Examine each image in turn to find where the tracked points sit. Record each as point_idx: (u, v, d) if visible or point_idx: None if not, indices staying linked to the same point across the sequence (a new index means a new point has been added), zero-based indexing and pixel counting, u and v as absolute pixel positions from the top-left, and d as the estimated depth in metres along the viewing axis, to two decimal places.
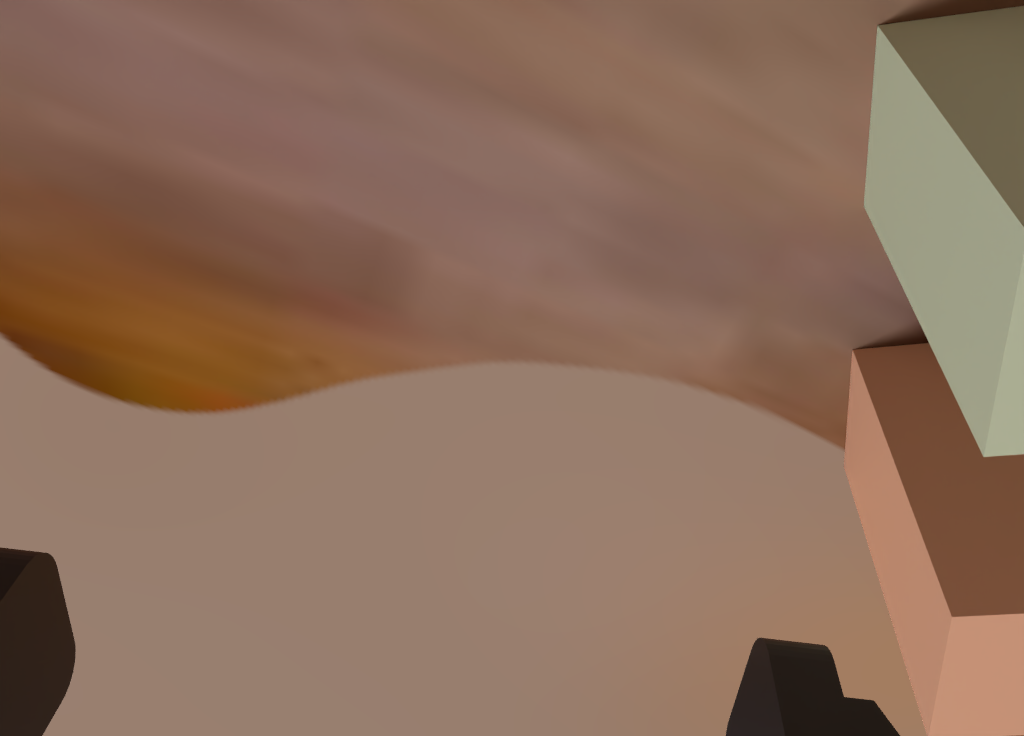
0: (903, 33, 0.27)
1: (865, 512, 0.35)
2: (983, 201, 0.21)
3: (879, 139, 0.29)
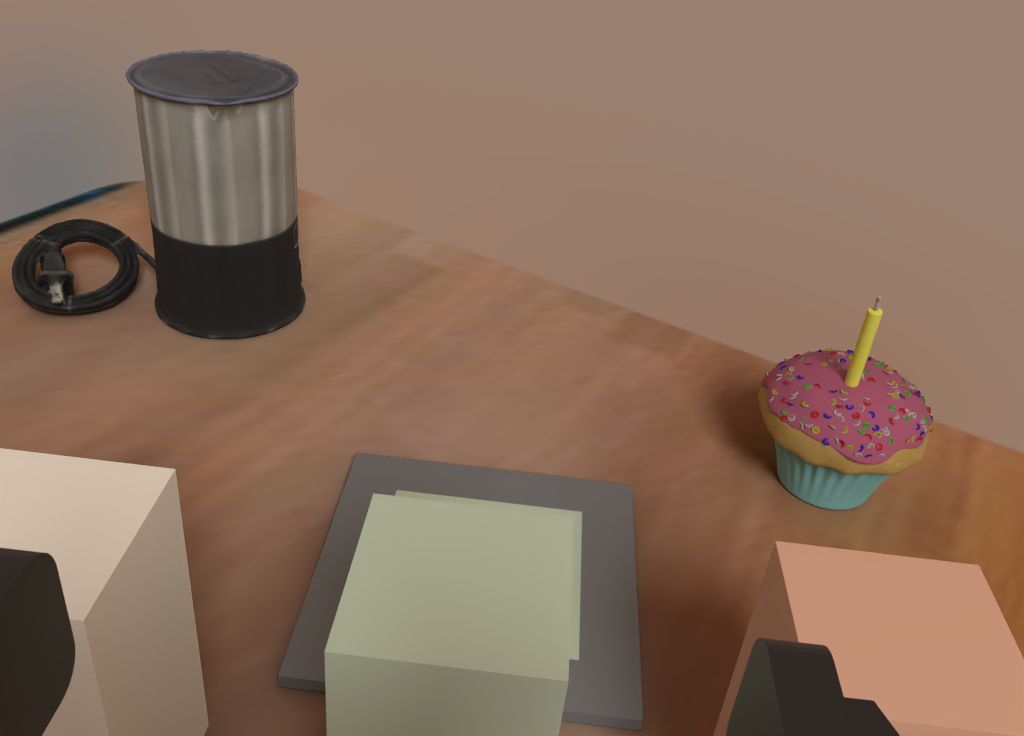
0: None
1: None
2: (348, 716, 0.24)
3: None
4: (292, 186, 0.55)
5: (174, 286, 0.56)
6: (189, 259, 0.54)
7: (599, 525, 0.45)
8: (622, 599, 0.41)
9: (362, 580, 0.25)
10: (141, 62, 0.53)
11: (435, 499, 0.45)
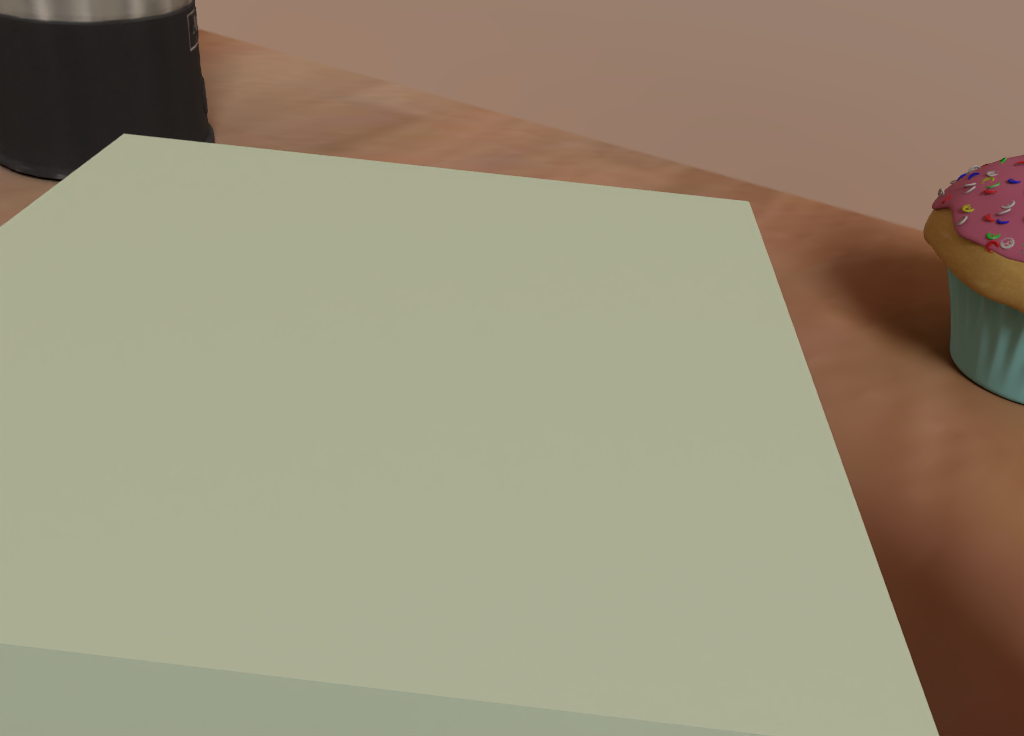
0: None
1: None
2: None
3: None
4: None
5: (0, 97, 0.37)
6: (16, 46, 0.35)
7: None
8: None
9: None
10: None
11: None
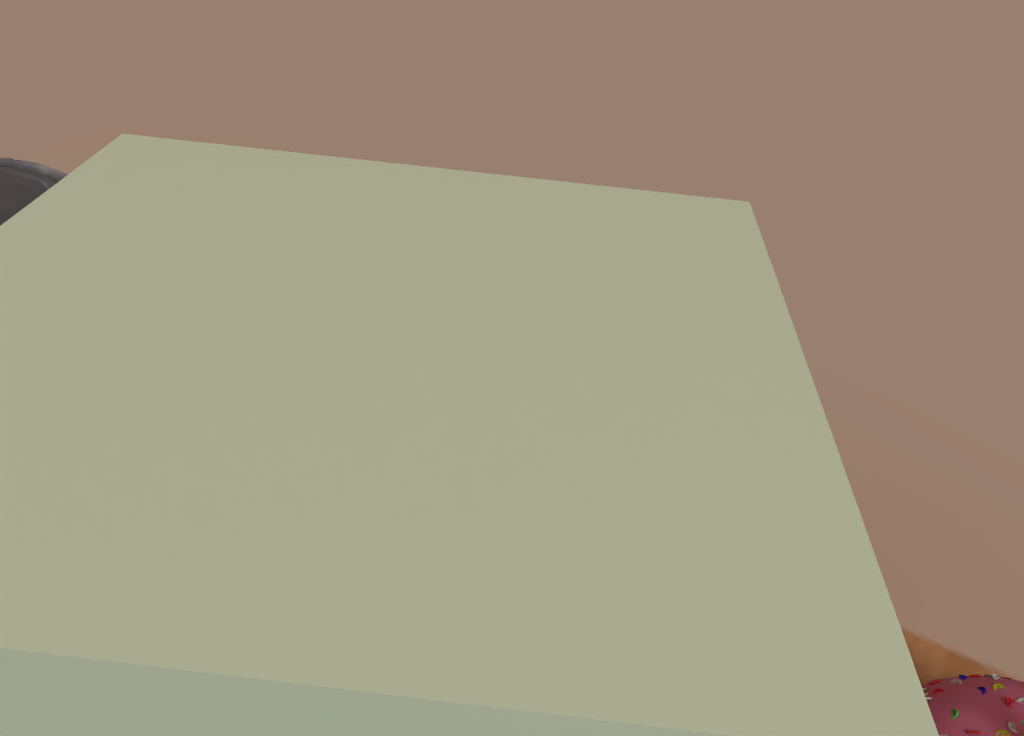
0: None
1: None
2: None
3: None
4: None
5: None
6: None
7: None
8: None
9: None
10: None
11: None
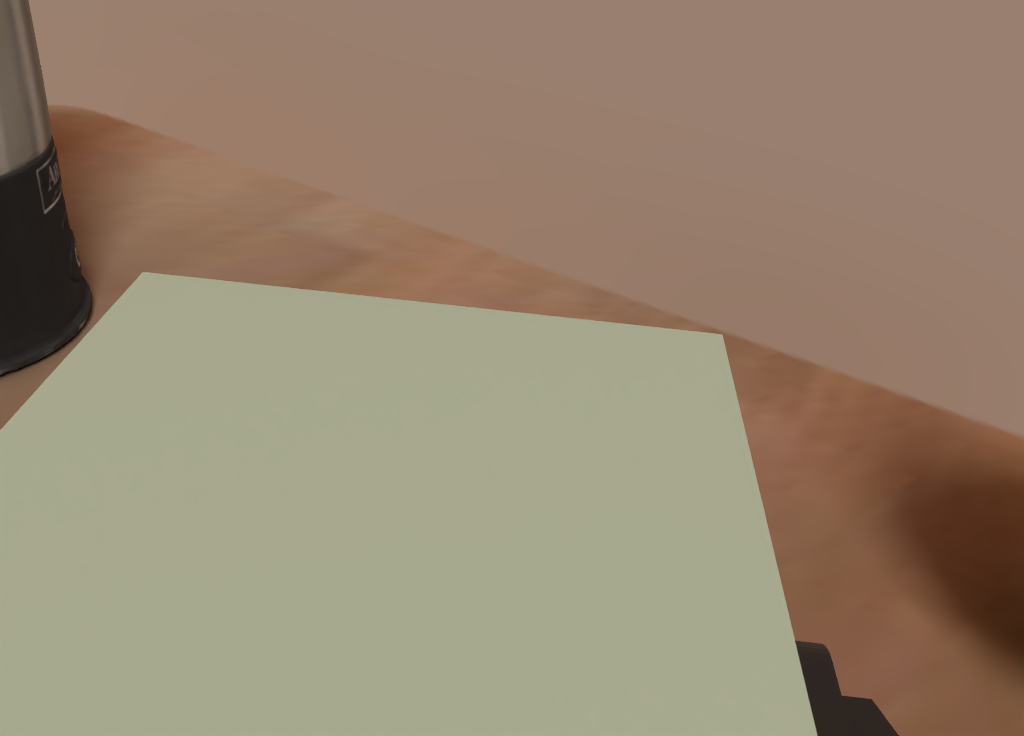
0: None
1: None
2: None
3: None
4: (16, 82, 0.27)
5: None
6: None
7: None
8: None
9: (4, 496, 0.07)
10: None
11: None
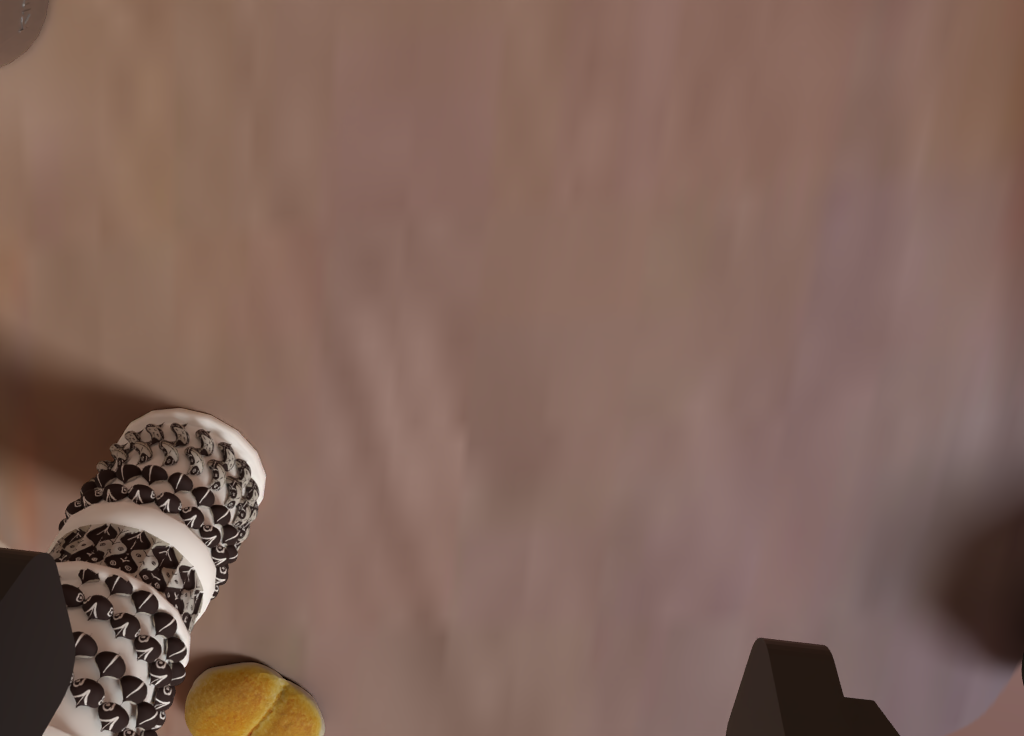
0: None
1: None
2: None
3: None
4: None
5: None
6: None
7: None
8: None
9: None
10: None
11: None
